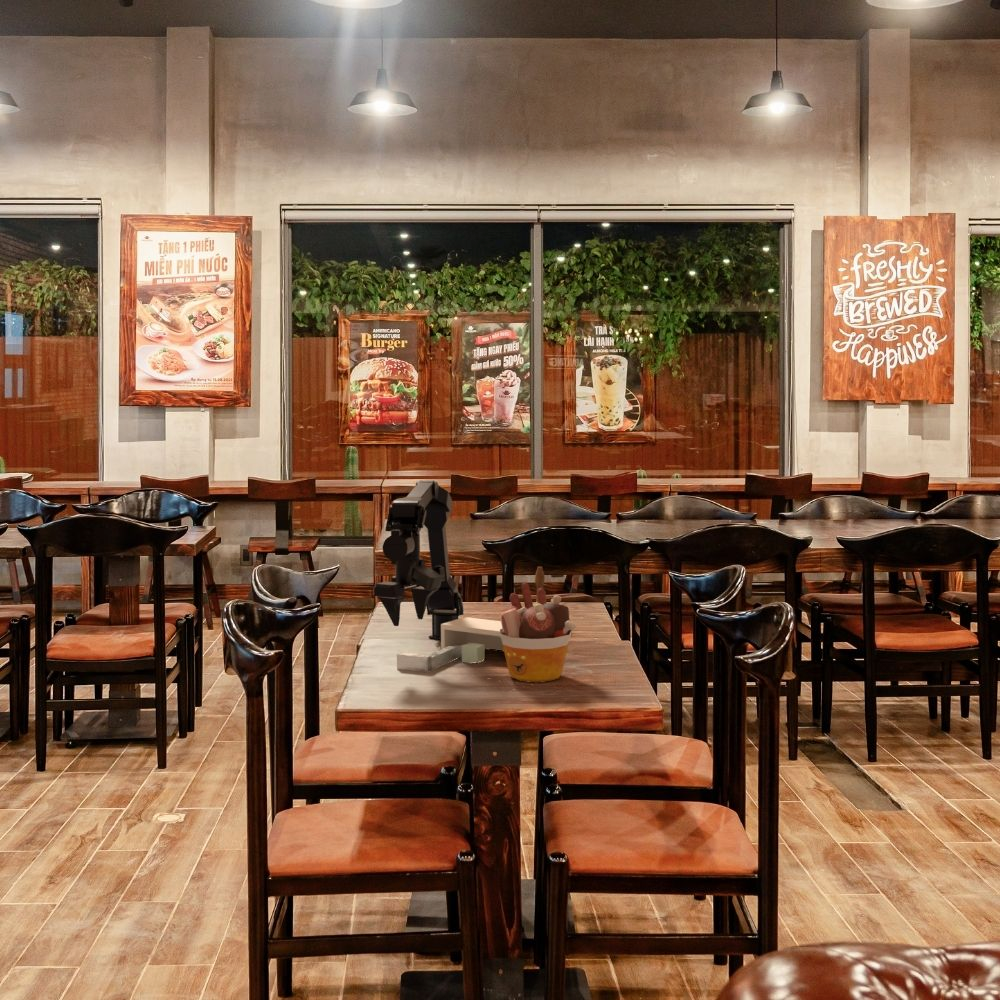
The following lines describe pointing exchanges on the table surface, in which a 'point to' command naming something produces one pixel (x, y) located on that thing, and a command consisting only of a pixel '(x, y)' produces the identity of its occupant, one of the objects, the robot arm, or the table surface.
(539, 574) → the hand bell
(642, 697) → the table surface
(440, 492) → the robot arm
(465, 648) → the mint cube
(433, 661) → the pale grey angled bracket
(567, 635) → the bucket of meat
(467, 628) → the low cubby
